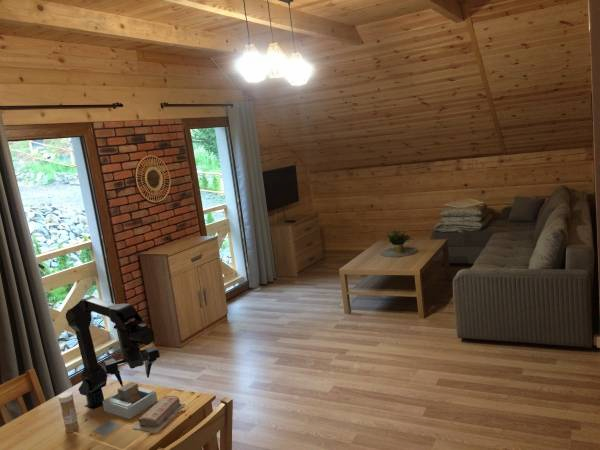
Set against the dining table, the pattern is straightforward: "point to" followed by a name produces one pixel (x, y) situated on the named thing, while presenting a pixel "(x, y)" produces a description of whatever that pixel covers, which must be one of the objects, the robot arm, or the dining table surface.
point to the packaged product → (159, 414)
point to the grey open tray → (128, 409)
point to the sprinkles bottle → (68, 411)
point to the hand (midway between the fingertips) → (135, 381)
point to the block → (129, 393)
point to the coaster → (106, 428)
